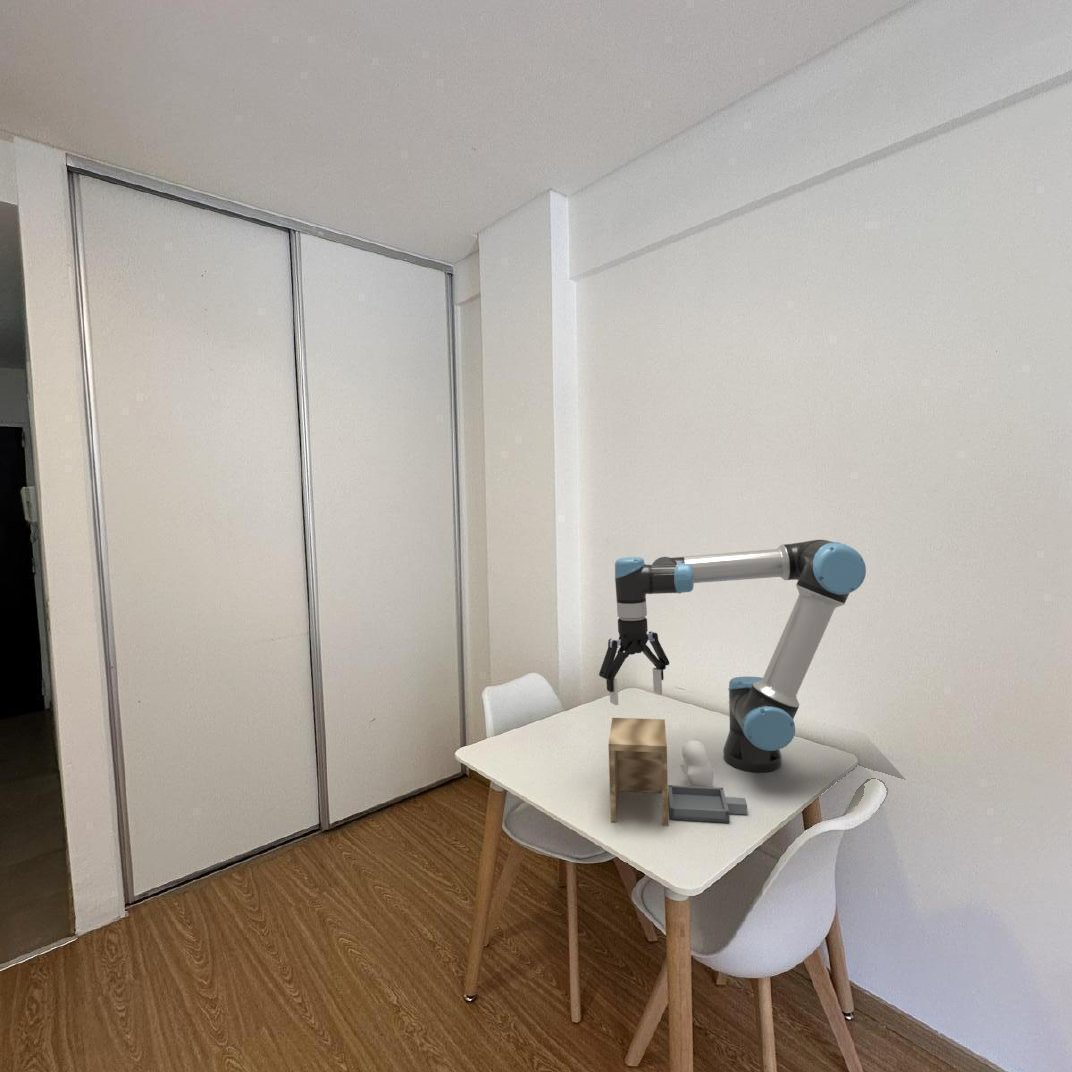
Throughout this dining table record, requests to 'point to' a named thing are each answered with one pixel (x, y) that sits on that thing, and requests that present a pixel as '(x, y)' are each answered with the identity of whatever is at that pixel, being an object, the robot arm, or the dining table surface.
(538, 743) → the dining table surface
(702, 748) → the figurine
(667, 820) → the box
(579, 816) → the dining table surface
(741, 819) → the dining table surface
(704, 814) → the tray
